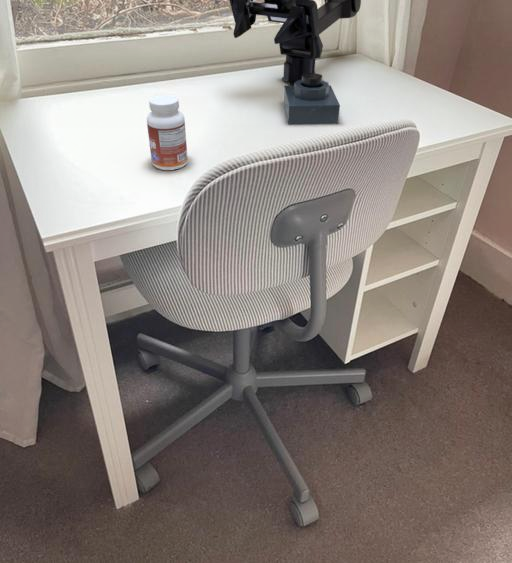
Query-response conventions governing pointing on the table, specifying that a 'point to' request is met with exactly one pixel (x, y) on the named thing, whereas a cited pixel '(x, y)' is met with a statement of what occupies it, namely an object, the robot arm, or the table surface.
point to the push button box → (311, 104)
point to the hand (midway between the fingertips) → (254, 38)
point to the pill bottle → (166, 133)
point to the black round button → (312, 80)
